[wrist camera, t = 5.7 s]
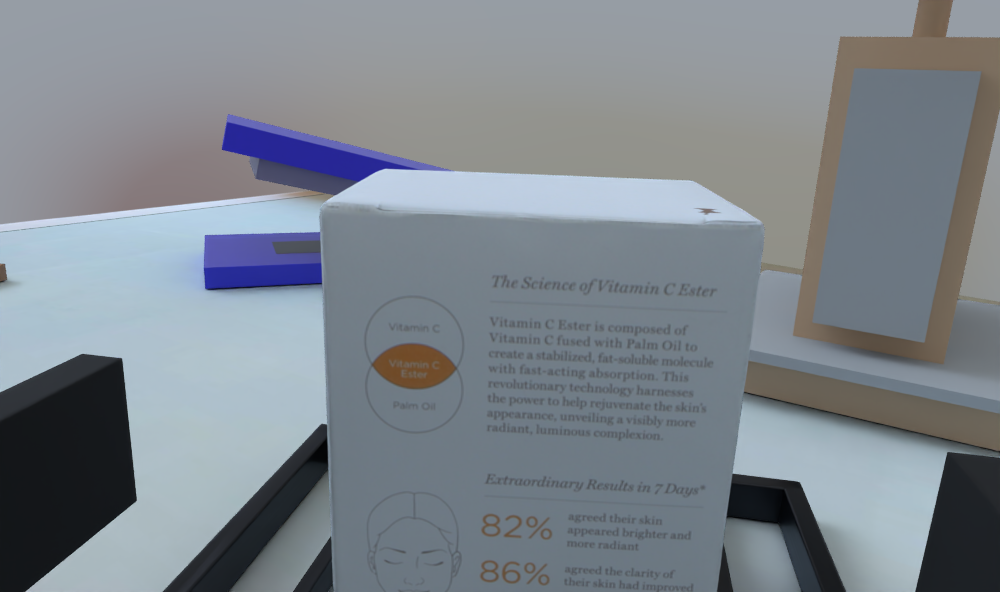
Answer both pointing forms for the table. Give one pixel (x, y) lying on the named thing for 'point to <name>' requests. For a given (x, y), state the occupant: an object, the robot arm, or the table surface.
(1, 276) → the plate
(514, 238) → the small box
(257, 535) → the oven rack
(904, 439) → the table surface
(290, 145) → the stapler
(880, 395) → the desk lamp
